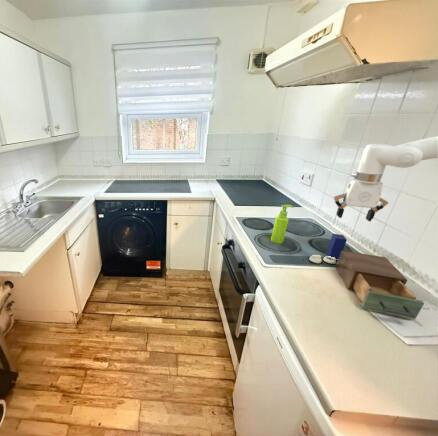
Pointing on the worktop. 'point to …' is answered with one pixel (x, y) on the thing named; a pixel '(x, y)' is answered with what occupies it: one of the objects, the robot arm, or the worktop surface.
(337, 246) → the box
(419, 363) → the worktop surface
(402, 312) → the drawer
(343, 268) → the cabinet
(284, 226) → the soap dispenser
